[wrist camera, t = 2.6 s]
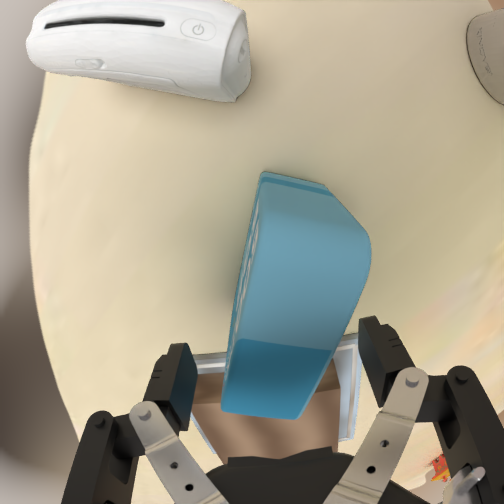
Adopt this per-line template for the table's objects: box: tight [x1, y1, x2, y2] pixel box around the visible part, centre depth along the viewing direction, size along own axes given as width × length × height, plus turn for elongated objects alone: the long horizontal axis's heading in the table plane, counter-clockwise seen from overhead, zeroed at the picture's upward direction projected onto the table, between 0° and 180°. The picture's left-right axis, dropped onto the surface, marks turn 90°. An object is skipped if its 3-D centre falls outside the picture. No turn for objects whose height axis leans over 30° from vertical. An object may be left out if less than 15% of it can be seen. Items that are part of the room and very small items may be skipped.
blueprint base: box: [190, 333, 362, 464], centre depth 30 cm, size 20×20×5 cm
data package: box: [221, 172, 371, 420], centre depth 18 cm, size 12×4×12 cm, turn 169°
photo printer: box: [26, 0, 251, 102], centre depth 12 cm, size 10×4×12 cm, turn 74°
